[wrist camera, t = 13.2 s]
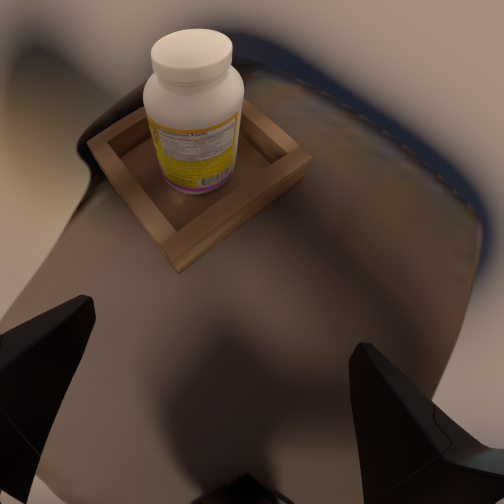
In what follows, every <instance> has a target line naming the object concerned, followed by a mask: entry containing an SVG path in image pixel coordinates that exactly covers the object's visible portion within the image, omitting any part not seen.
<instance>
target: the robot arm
mask: <svg viewBox="0 0 504 504" xmlns="http://www.w3.org/2000/svg"><path fill="white" fill-rule="evenodd" d="M95 320H96V315H95V308H94V302H93V299H92V297H90V296H86V295H79V296H77V297H75V298H73V299H71V300H69V301H67V302H65V303H63V304H61V305H58V306H56V307H54V308H52V309H50V310H48V311H46V312H44V313H42V314H40V315H38V316H36V317H34V318H32V319H30V320H28V321H26V322H24V323H22V324H20V325H18V326H16V327H14V328H13V329H11V330H9V331H7V332H5V333H4V334H1V335H0V494H1V491H4V492H5V493H7V494H8V495H10V496H12V497H13V498H15V499H16V500H18V501H20V502H21V503H23V504H26V503H27V500H28V496H29V493H30V489H31V486H32V483H33V479H34V476H35V473H36V470H37V467H38V464H39V461H40V458H41V457H40V456H41V454H42V452H43V449H44V446H45V443H46V440H47V438H48V435H49V432H50V430H51V427H52V425H53V422H54V420H55V417H56V415H57V412H58V410H59V408H60V405H61V403H62V400H63V398H64V396H65V394H66V391H67V389H68V387H69V385H70V382H71V380H72V378H73V376H74V374H75V372H76V369H77V367H78V365H79V363H80V361H81V359H82V356H83V354H84V351H85V348H86V345H87V342H88V340H89V337H90V334H91V332H92V329H93V326H94V324H95ZM349 379H350V396H351V406H352V412H353V418H354V425H355V432H356V438H357V445H358V453H359V461H360V469H361V477H362V487H363V497H364V504H504V449H495V448H489V447H487V446H485V445H483V444H481V443H480V442H479V441H478V440H476V439H475V438H473V436H471V435H470V434H469V433H467V432H466V431H465V430H464V429H463V428H461V427H460V426H459V425H458V424H457V423H455V422H454V421H453V420H452V419H450V418H449V417H448V416H447V415H446V414H445V413H444V412H443V411H442V410H441V409H440V408H439V407H438V406H436V405H435V404H434V403H433V402H432V401H431V400H430V399H429V398H428V397H427V396H426V395H425V394H424V393H423V392H422V391H421V390H420V389H419V388H418V387H417V386H416V385H414V384H413V383H412V382H411V381H410V380H409V379H408V378H407V377H406V376H405V375H404V374H403V373H402V372H401V371H400V370H399V369H398V368H396V367H395V366H394V365H393V364H392V363H391V362H390V361H389V360H388V359H387V358H386V357H385V356H384V355H383V354H382V353H380V352H379V351H378V350H377V349H376V348H375V347H374V346H373V345H372V344H371V343H364V342H360V343H358V345H357V346H356V348H355V350H354V352H353V354H352V355H351V357H350V359H349ZM246 478H249V479H250V480H249V481H244V480H245V479H246ZM0 504H1V502H0ZM200 504H288V503H287V502H285V501H284V500H282V499H281V498H280V497H278V496H277V495H276V494H274V493H273V492H272V491H270V490H269V489H268V488H267V487H265V486H264V485H263V484H262V483H260V482H259V481H258V480H257V479H255V478H254V477H253V476H252V475H250V474H244V475H242V476H241V477H240V478H238V479H237V480H235V481H234V482H233V483H231V484H230V485H224V486H223V487H221V488H220V489H218V490H217V491H215V492H213V493H212V494H210V495H209V496H207V497H206V498H204V499H203V500H202V503H200Z"/></svg>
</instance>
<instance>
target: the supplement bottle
mask: <svg viewBox="0 0 504 504" xmlns="http://www.w3.org/2000/svg"><path fill="white" fill-rule="evenodd" d="M151 59H152V67H153V71H154V73H153V74H152V75H151V77H150V78H149V79H148V81H147V83H146V85H145V88H144V92H143V102H144V107H145V111H146V115H147V119H148V123H149V127H150V131H151V135H152V139H153V142H154V146H155V150H156V154H157V157H158V161H159V165H160V168H161V171H162V174H163V176H164V178H165V180H166V181H167V183H168V184H169V185H170V186H172V187H173V188H174V189H176V190H178V191H180V192H182V193H186V194H205V193H209V192H212V191H214V190H216V189H218V188H220V187H221V186H223V185H224V184H225V183H226V182H227V181H228V180H229V178H230V177H231V175H232V174H233V171H234V168H235V163H236V154H237V145H238V136H239V127H240V119H241V110H242V103H243V96H244V84H243V81H242V78H241V76H240V75H239V73H238V72H237V71H236V69H235V68H233V67H232V66H231V65H230V64H231V62H232V43H231V41H230V39H229V38H228V37H226V36H225V35H224V34H222V33H219V32H216V31H212V30H208V29H189V30H182V31H178V32H174V33H172V34H169V35H167V36H165V37H163V38H161V39H160V40H159V41H157V42H156V43H155V45H154V46H153V48H152V50H151Z"/></svg>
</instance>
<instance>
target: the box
mask: <svg viewBox="0 0 504 504" xmlns="http://www.w3.org/2000/svg"><path fill="white" fill-rule="evenodd" d="M87 144H88V146H89V148H90V150H91V152H92V154H93V155H94V157H95V159H96V161H97V163H98V165H99V166H100V168H101V169H102V171H103V172H104V174H105V175H106V177H107V178H108V180H109V181H110V182H111V184H112V185H113V187H114V188H115V190H116V191H117V193H118V194H119V195H120V197H121V198H122V200H123V201H124V202H125V204H126V205H127V207H128V208H129V209H130V211H131V212H132V213H133V215H134V216H135V218H136V219H137V220H138V222H139V223H140V224H141V226H142V227H143V228H144V230H145V231H146V232H147V234H148V235H149V236H150V238H151V239H152V240H153V242H154V243H155V244H156V246H157V247H158V248H159V249H160V251H161V252H162V253H163V255H164V256H165V257H166V259H167V260H168V261H169V262H170V264H171V265H172V266H173V267H174V269H175V270H176V271H177V272H178V274H180V273H181V272H183V271H184V270H185V269H186V268H188V267H189V266H190V265H191V264H193V263H194V262H195V261H197V260H198V259H199V258H200V257H202V256H203V255H204V254H205V253H207V252H208V251H209V250H211V249H212V248H213V247H214V246H216V245H217V244H218V243H220V242H221V241H222V240H223V239H225V238H226V237H227V236H229V235H230V234H231V233H232V232H234V231H235V230H236V229H238V228H239V227H240V226H242V225H243V224H244V223H245V222H247V221H248V220H249V219H251V218H252V217H253V216H255V215H256V214H257V213H259V212H260V211H261V210H262V209H264V208H265V207H266V206H268V205H269V204H270V203H272V202H273V201H274V200H276V199H277V198H278V197H280V196H281V195H282V194H284V193H285V192H286V191H288V190H289V189H290V188H292V187H293V186H294V185H296V184H297V183H299V182H300V181H301V180H302V178H303V176H304V174H305V172H306V170H307V168H308V166H309V164H310V162H311V160H312V158H313V157H311V156H310V155H309V154H308V153H307V152H306V151H305V150H304V149H303V148H302V147H301V146H300V145H298V144H297V143H296V142H295V141H294V140H293V139H292V138H291V137H290V136H288V135H287V134H286V133H285V132H284V131H283V130H282V129H280V128H279V127H278V126H277V125H276V124H275V123H273V122H272V121H271V120H270V119H269V118H268V117H266V116H265V115H264V114H263V113H262V112H260V111H259V110H258V109H257V108H255V107H254V106H253V105H252V104H250V103H249V102H248V101H247V100H245V99H244V98H243V103H242V110H241V119H240V127H239V136H238V145H237V154H236V163H235V168H234V171H233V174H232V175H231V177H230V178H229V180H228V181H227V182H226V183H225V184H224V185H223V186H221V187H220V188H218V189H216V190H214V191H212V192H209V193H205V194H186V193H182V192H180V191H178V190H176V189H174V188H173V187H172V186H170V185H169V184H168V183H167V181H166V180H165V178H164V176H163V174H162V171H161V168H160V165H159V161H158V157H157V154H156V150H155V146H154V142H153V139H152V135H151V131H150V127H149V123H148V119H147V115H146V111H145V107H144V106H143V107H141V108H140V109H138V110H136V111H134V112H133V113H131V114H129V115H128V116H126V117H124V118H123V119H121V120H119V121H118V122H116V123H115V124H113V125H112V126H110V127H108V128H107V129H105V130H104V131H102V132H101V133H99V134H98V135H96V136H95V137H93V138H92V139H90V140H89V141H88V142H87Z"/></svg>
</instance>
